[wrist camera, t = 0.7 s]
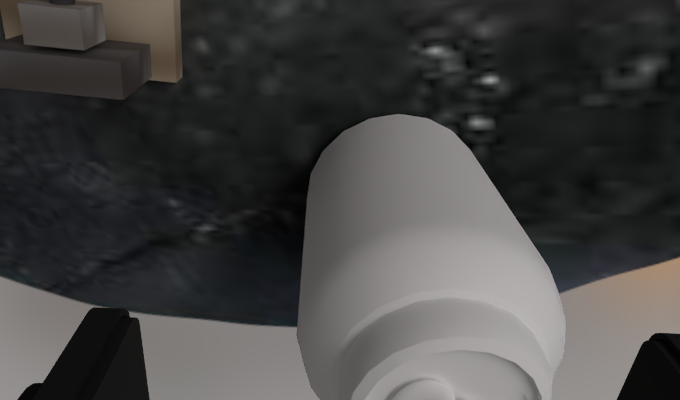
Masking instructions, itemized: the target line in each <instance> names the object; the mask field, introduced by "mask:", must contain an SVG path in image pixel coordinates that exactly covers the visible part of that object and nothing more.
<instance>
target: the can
mask: <svg viewBox="0 0 680 400" xmlns="http://www.w3.org/2000/svg"><path fill="white" fill-rule="evenodd" d="M565 330H566V322H565V317H564V312H563V307H562V302H561V298H560V295H559V293H558V290H557V287H556V285H555V282H554V280H553V277H552V274H551V272H550V269H549V267H548V266H547V264H546V263H545V261H544V260H543V258H542V257H541V255H540V254H539V252H538V251H537V249H536V248H535V246H534V245H533V243H532V242H531V240H530V239H529V237H528V236H527V234H526V233H525V231H524V230H523V228H522V227H521V225H520V224H519V222H518V221H517V219H516V218H515V216H514V215H513V213H512V212H511V210H510V209H509V207H508V206H507V204H506V203H505V201H504V200H503V198H502V197H501V195H500V194H499V192H498V191H497V189H496V188H495V186H494V185H493V183H492V182H491V180H490V179H489V177H488V176H487V174H486V173H485V171H484V170H483V168H482V167H481V165H480V164H479V162H478V161H477V159H476V158H475V156H474V155H473V153H472V152H471V150H470V149H469V148H468V147H467V146H466V145H465V144H464V143H463V142H462V141H461V140H460V139H459V138H458V136H457V135H456V134H455V133H454V132H453V131H451V130H450V129H448V128H446V127H444V126H442V125H440V124H438V123H436V122H434V121H432V120H430V119H428V118H422V117H416V116H409V115H402V114H396V115H389V116H383V117H376V118H370V119H368V120H366V121H364V122H362V123H359V124H357V125H355V126H353V127H351V128H349V129H347V130H345V131H343V132H342V133H341V134H340V135H339V136H338V137H337V138H336V139H335V140H334V141H333V142H332V143H331V144H330V145H328V146H327V147H326V148H325V149H324V150H323V152H322V154H321V155H320V157H319V159H318V161H317V163H316V165H315V167H314V169H313V171H312V172H311V175H310V182H309V189H308V195H307V205H306V219H305V232H304V245H303V258H302V272H301V285H300V298H299V311H298V325H297V338H298V342H299V346H300V350H301V353H302V358H303V362H304V366H305V369H306V372H307V375H308V378H309V382H310V385H311V388H312V389H313V391H314V392H315V393H316V395H317V396H318V397H319V399H320V400H551V397H552V379H553V377H554V375H555V373H556V371H557V369H558V367H559V365H560V363H561V360H562V358H563V356H564V346H565Z"/></svg>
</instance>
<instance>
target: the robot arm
mask: <svg viewBox="0 0 680 400" xmlns="http://www.w3.org/2000/svg"><path fill="white" fill-rule="evenodd" d="M18 400H149V392H148V386H147V377H146V369H145V362H144V354H143V346H142V339H141V331H140V324H139V320H138V318H130V316H129V312H128V311H127V310H126V309H115V308H92V309H91V310H89V312H88V313H87V314H86V316H85V317H84V319H83V321H82V322H81V324H80V325H79V327H78V328H77V330H76V332H75V333H74V335H73V336H72V338H71V340H70V341H69V343H68V344H67V346H66V347H65V349H64V351H63V352H62V354H61V355H60V357H59V358H58V360H57V362H56V363H55V365H54V366H53V368H52V369H51V371H50V373H49V374H48V376H47V377H46V379H45V380H44V382H43V383H35V384H32V385H30V386H29V387H27V388H26V390H25V391H24V392H23V393H22V394H21V396H20V397H19V398H18ZM617 400H680V334H669V333H655V334H654V335H652V336H651V338H650V339H649V341H645V342H644V343H643V344H642V346H641V348H640V350H639V352H638V354H637V357H636V359H635V361H634V363H633V365H632V367H631V369H630V372H629V374H628V376H627V378H626V380H625V383H624V385H623V387H622V389H621V391H620V394H619V396H618V398H617Z"/></svg>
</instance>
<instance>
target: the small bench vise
mask: <svg viewBox="0 0 680 400" xmlns="http://www.w3.org/2000/svg"><path fill="white" fill-rule="evenodd" d="M0 11H1V16H2V21H3V27H4V32H5V38H6V40H3V41H0V88H5V89H15V90H25V91H36V92H46V93H56V94H66V95H77V96H87V97H97V98H107V99H118V100H124V99H125V98H127V97H128V96H129V95H130V94H132V93H133V92H134V91H135V90H137V89H138V88H139V87H140V86H142V85H143V84H144V83H145V82H146V81H148V80H154V81H164V82H174V83H177V82H178V81H179V80H180V79H181V78H182V45H181V13H180V0H0Z"/></svg>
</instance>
